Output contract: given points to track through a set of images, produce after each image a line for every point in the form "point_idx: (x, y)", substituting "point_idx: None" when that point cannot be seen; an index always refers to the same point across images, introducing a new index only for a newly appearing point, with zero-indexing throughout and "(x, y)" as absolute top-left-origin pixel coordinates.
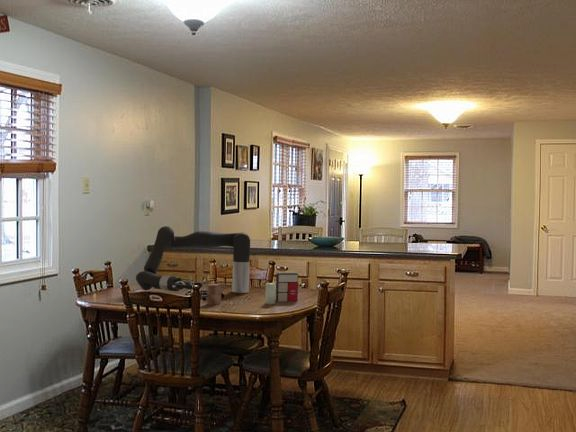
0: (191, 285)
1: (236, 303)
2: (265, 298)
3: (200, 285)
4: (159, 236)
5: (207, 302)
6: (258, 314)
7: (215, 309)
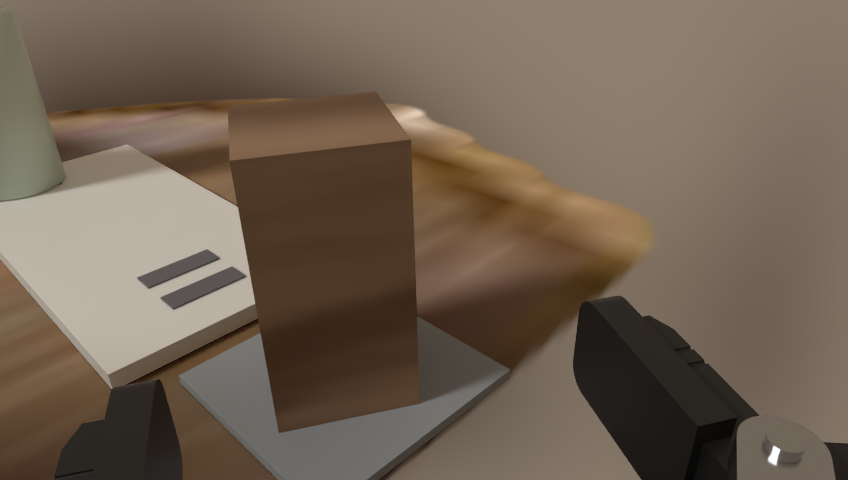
0: (619, 301)
1: (165, 272)
2: (32, 149)
3: (169, 449)
4: None
5: (416, 372)
6: None
7: (487, 269)
